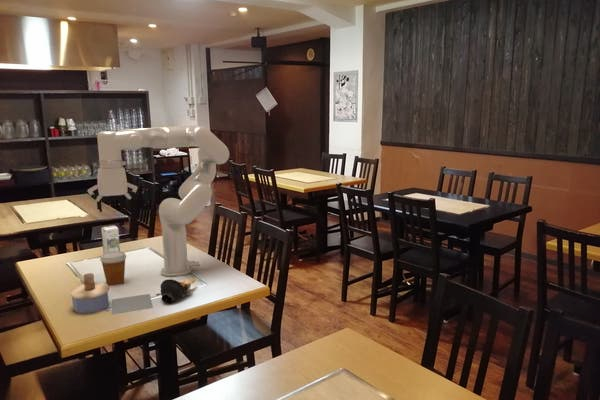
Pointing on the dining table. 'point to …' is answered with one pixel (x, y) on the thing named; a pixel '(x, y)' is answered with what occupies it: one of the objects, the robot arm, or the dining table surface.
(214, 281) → the dining table surface
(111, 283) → the disposable coffee cup
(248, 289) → the dining table surface
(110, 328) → the dining table surface
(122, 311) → the mat
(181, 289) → the black dish with food
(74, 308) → the bowl
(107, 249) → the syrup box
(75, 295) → the lid
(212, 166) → the robot arm
